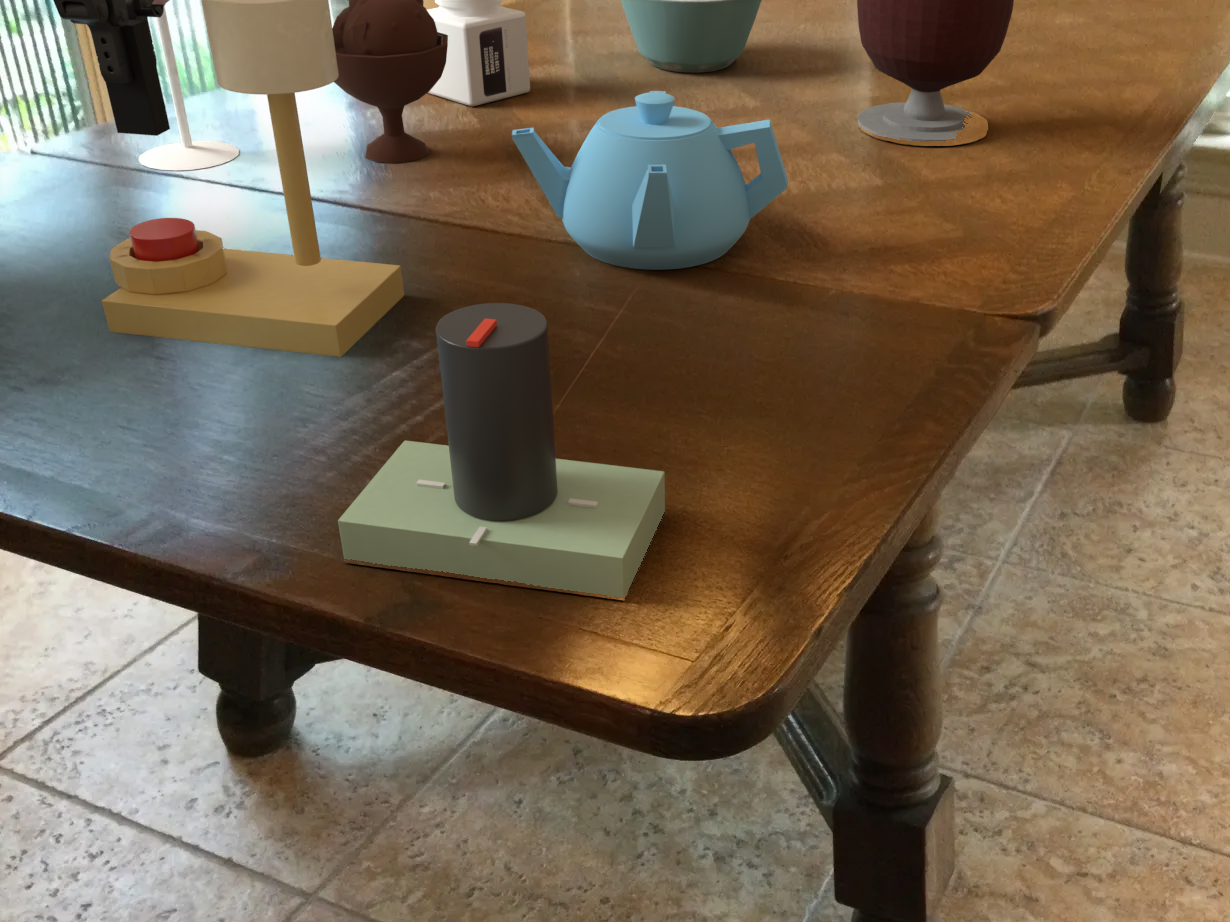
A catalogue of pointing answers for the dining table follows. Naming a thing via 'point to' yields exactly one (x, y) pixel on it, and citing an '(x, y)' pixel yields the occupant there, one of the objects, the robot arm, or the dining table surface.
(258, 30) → the lamp
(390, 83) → the ice cream bowl
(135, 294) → the lamp base
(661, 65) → the bowl
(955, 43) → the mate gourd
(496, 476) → the dimmer knob
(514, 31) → the container
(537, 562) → the dimmer panel
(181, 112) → the wineglass
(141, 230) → the lamp switch
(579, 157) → the teapot
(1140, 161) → the dining table surface
